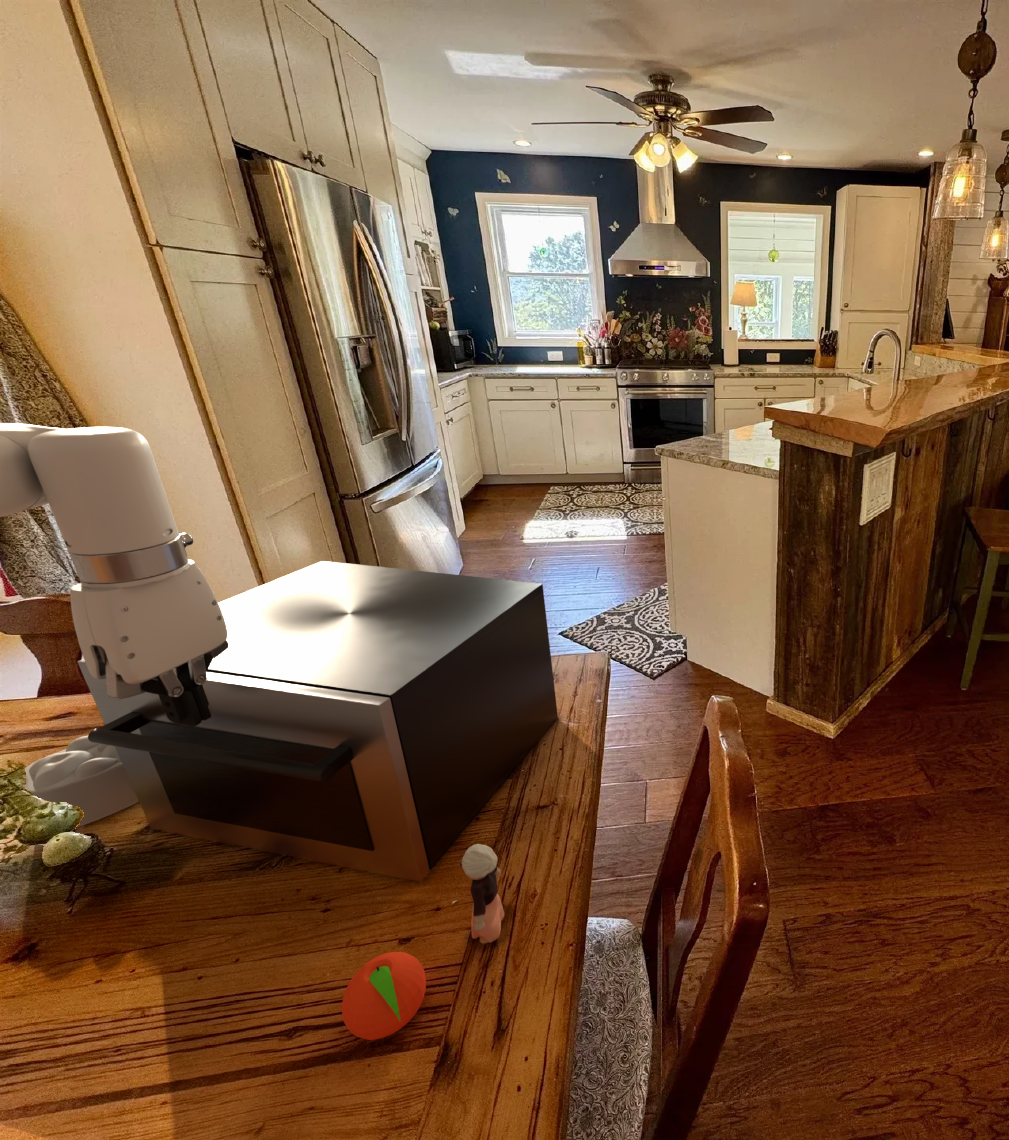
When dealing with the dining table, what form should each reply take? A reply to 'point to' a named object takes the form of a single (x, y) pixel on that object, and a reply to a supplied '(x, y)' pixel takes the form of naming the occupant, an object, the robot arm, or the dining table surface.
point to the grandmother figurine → (484, 892)
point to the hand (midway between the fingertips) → (192, 720)
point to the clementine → (383, 995)
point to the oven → (413, 669)
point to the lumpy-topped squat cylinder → (83, 779)
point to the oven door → (273, 771)
